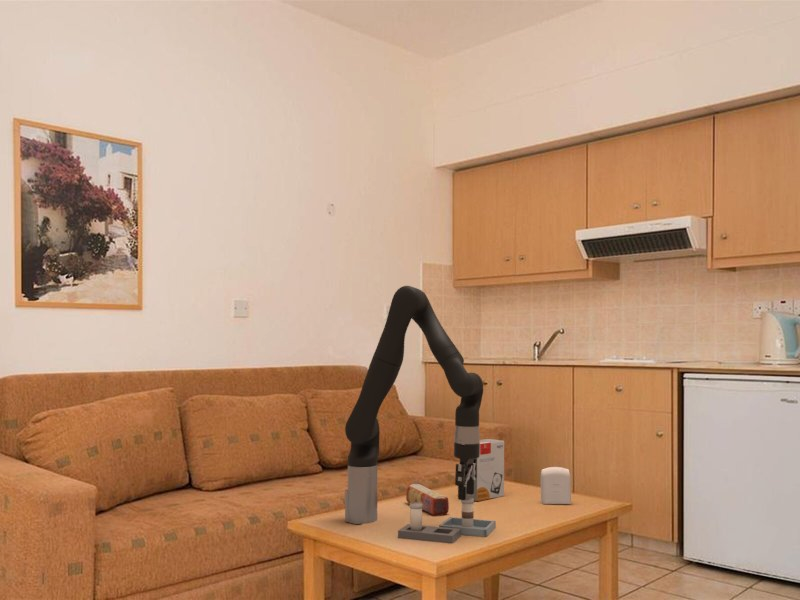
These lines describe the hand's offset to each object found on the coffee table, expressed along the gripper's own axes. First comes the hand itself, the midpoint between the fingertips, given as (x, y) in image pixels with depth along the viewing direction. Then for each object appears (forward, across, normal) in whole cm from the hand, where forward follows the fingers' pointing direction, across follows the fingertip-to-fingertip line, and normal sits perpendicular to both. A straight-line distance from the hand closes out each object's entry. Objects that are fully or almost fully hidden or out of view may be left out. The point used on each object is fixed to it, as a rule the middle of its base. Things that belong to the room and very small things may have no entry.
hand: (466, 496), depth 217 cm
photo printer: (+10, -48, +18) cm, 52 cm away
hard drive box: (+10, -48, -8) cm, 50 cm away
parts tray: (+10, 0, 0) cm, 10 cm away
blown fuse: (+10, 0, 0) cm, 10 cm away
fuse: (+10, +11, -11) cm, 19 cm away
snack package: (+11, -24, -20) cm, 33 cm away
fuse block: (+10, +11, -7) cm, 17 cm away
